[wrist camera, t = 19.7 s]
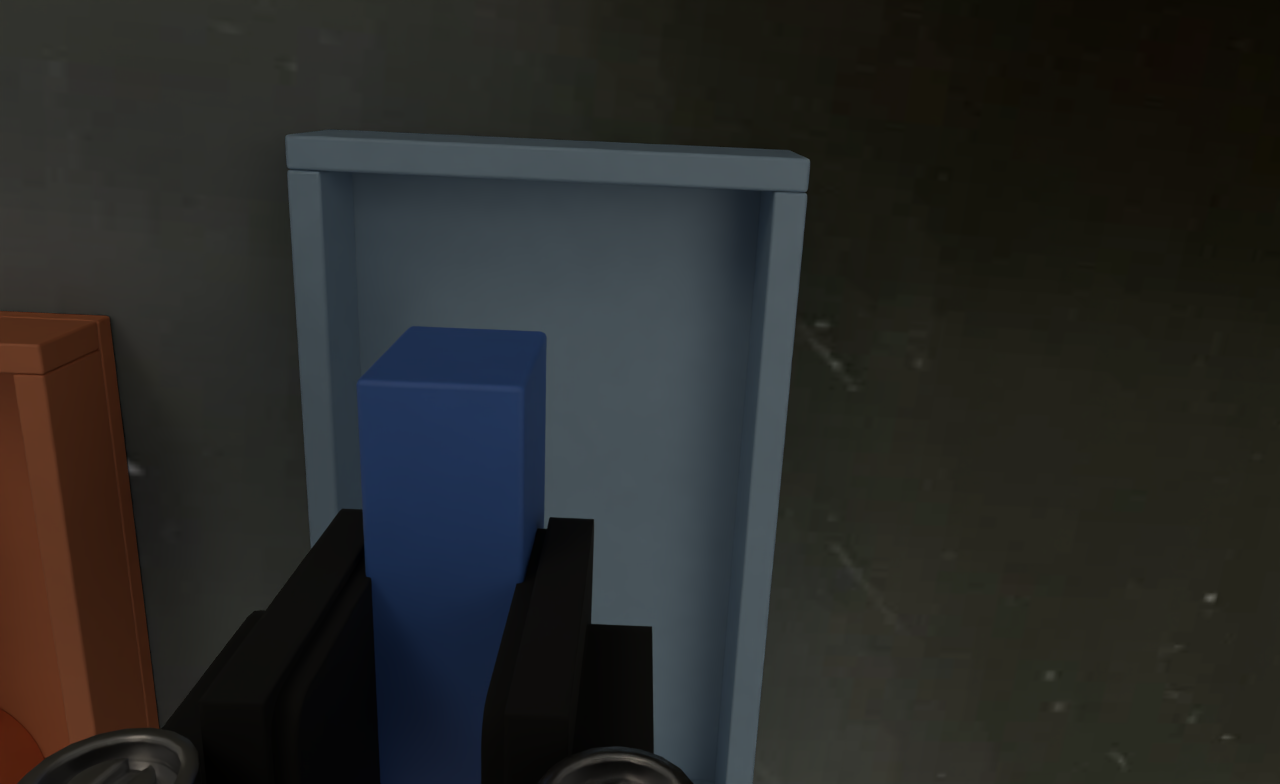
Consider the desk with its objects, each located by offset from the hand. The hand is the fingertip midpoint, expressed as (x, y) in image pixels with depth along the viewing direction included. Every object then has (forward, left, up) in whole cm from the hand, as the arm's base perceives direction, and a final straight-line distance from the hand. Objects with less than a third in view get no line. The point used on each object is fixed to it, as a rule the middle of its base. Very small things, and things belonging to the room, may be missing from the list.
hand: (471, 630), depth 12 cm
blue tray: (+2, 0, -10) cm, 10 cm away
